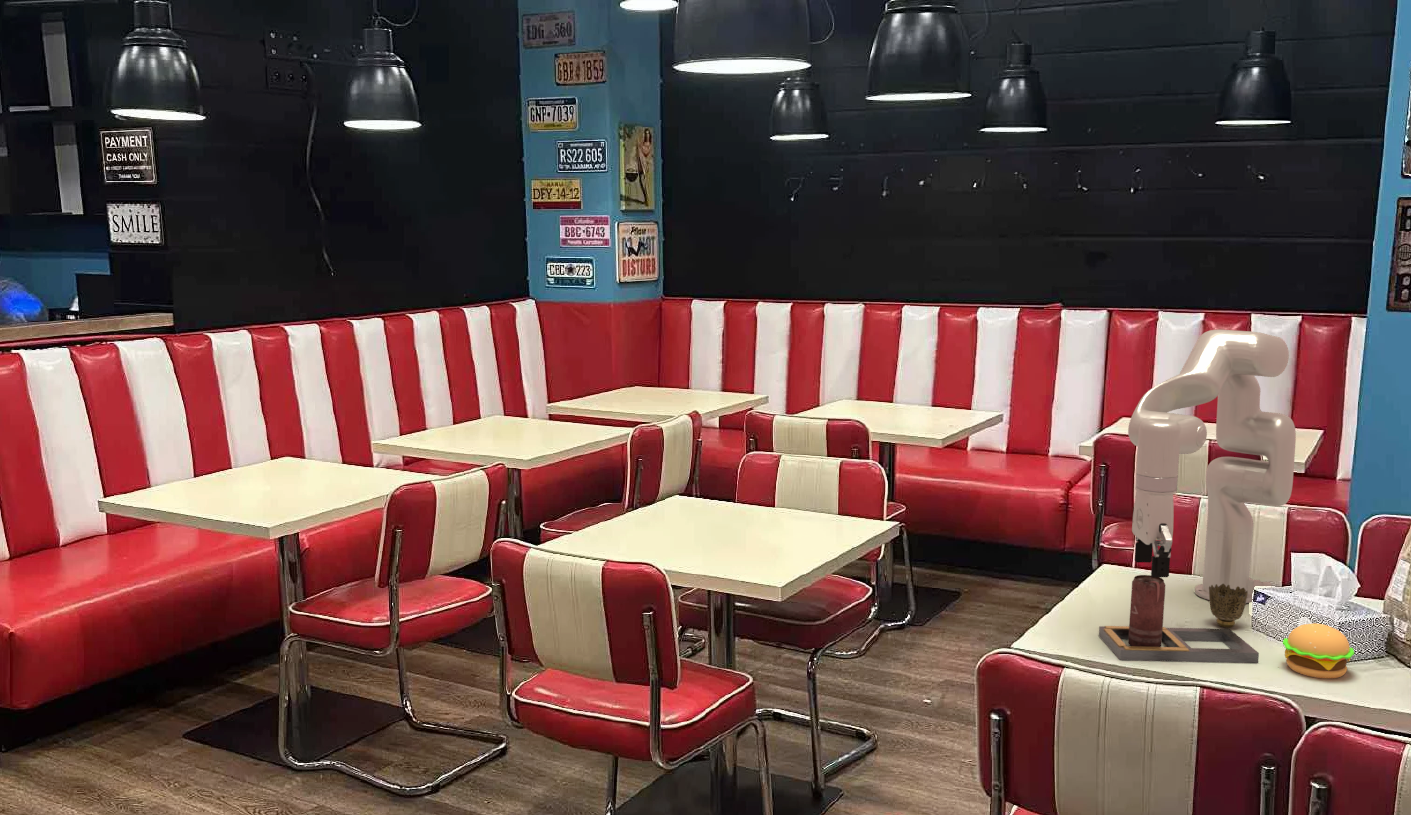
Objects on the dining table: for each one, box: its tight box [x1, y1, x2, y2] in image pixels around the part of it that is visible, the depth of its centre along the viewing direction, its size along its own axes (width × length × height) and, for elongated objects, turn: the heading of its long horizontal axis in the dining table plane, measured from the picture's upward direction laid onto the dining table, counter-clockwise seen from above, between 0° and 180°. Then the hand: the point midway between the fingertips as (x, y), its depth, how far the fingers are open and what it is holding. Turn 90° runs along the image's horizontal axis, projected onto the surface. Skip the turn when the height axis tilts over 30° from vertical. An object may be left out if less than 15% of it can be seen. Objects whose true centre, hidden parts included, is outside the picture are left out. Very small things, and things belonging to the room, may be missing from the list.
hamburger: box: [1282, 622, 1355, 680], centre depth 228 cm, size 12×12×9 cm
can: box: [1127, 574, 1166, 647], centre depth 238 cm, size 6×6×14 cm
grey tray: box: [1098, 625, 1260, 664], centre depth 239 cm, size 26×14×2 cm, turn 88°
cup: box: [1208, 584, 1248, 629], centre depth 253 cm, size 8×7×8 cm
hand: (1151, 569), depth 237 cm, fingers open, 9 cm apart
